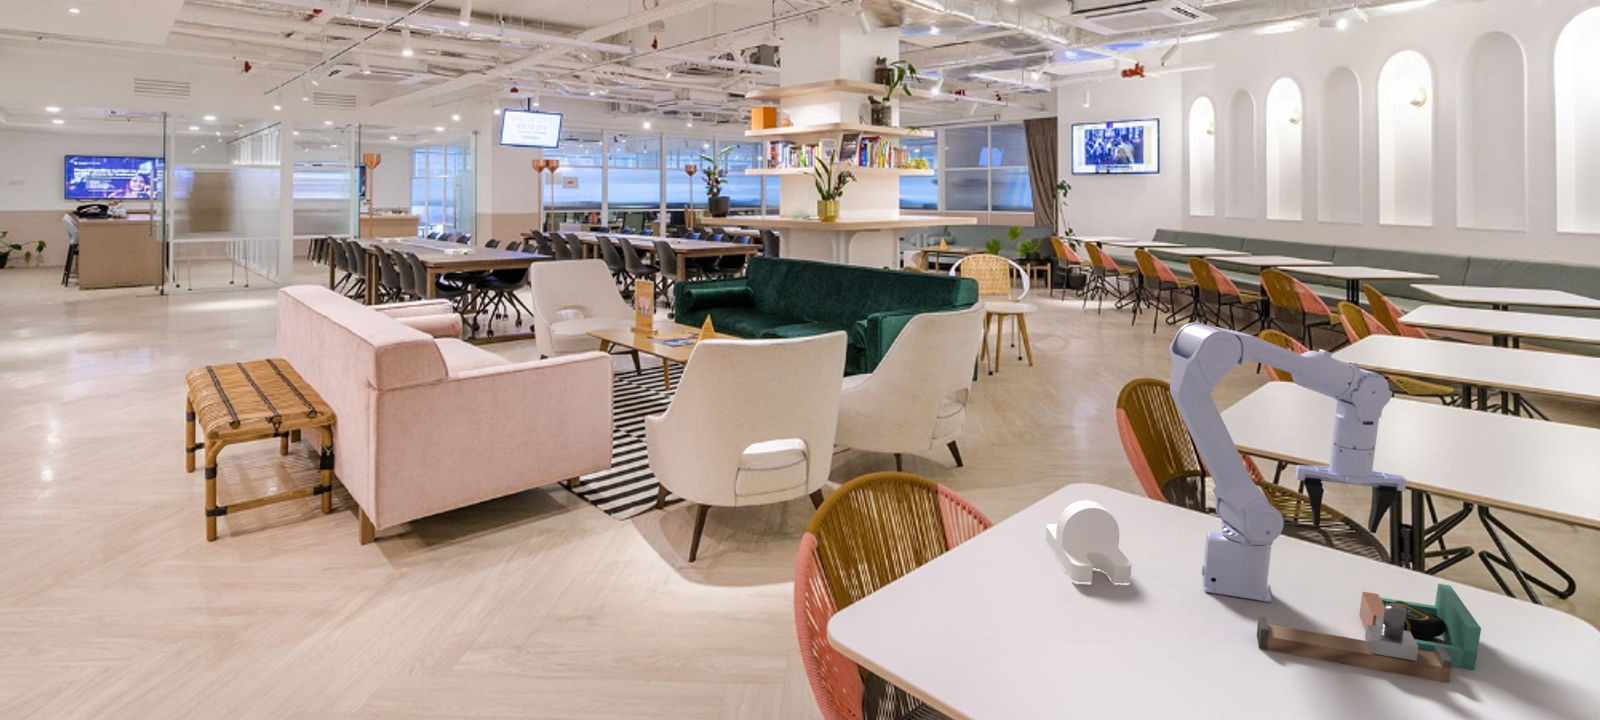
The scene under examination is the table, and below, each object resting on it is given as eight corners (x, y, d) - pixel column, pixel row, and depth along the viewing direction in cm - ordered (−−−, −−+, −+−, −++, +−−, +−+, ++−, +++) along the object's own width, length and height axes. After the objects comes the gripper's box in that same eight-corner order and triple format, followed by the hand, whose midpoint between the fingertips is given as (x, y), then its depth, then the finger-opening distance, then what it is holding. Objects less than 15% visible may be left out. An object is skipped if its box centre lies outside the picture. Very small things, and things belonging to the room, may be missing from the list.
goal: (1386, 654, 119) (1391, 614, 118) (1365, 610, 132) (1370, 573, 131) (1474, 670, 116) (1481, 628, 114) (1444, 623, 128) (1450, 585, 127)
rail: (1259, 648, 121) (1261, 628, 120) (1256, 635, 125) (1258, 615, 124) (1449, 682, 113) (1452, 661, 112) (1440, 667, 116) (1443, 646, 116)
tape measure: (1446, 641, 123) (1450, 617, 123) (1414, 650, 121) (1418, 625, 120) (1398, 620, 130) (1401, 596, 129) (1367, 628, 127) (1370, 604, 126)
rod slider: (1369, 666, 116) (1377, 611, 114) (1347, 613, 130) (1353, 564, 129) (1414, 674, 114) (1422, 618, 112) (1386, 619, 128) (1393, 569, 127)
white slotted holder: (1096, 543, 158) (1100, 486, 156) (1132, 586, 141) (1137, 523, 139) (1043, 542, 159) (1047, 486, 156) (1072, 586, 141) (1077, 523, 139)
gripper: (1303, 446, 134) (1294, 529, 137) (1415, 457, 129) (1403, 543, 131) (1297, 435, 141) (1289, 514, 143) (1403, 444, 135) (1393, 527, 138)
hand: (1343, 527), depth 138 cm, fingers open, 7 cm apart
